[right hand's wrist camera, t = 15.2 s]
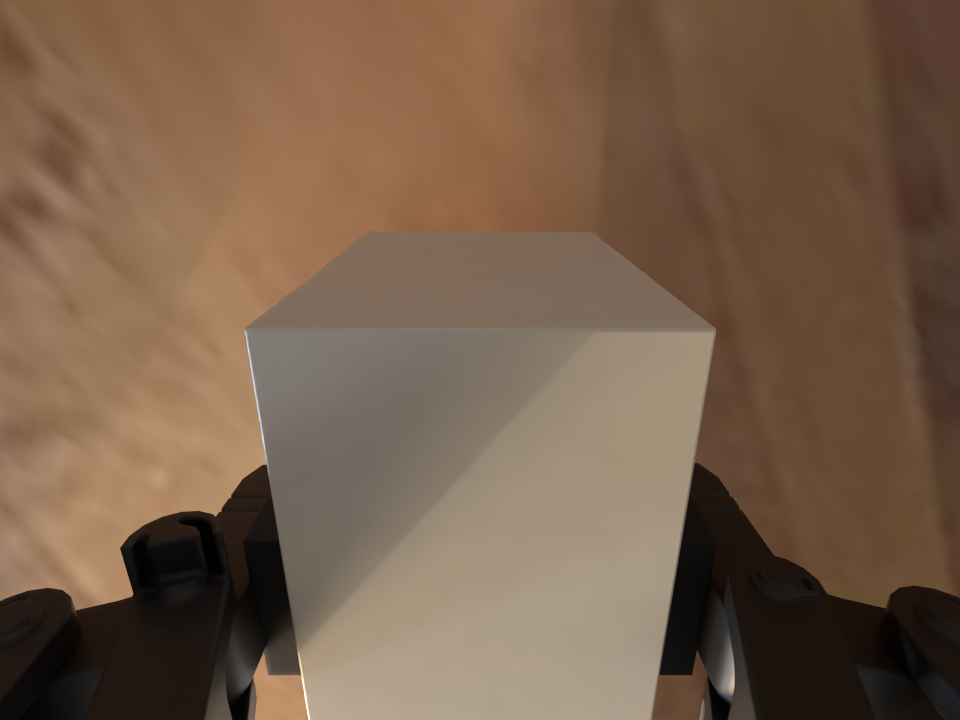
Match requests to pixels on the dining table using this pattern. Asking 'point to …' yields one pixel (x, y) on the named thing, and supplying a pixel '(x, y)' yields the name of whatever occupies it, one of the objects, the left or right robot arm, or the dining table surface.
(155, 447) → the dining table surface
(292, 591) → the bar
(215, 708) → the right robot arm
